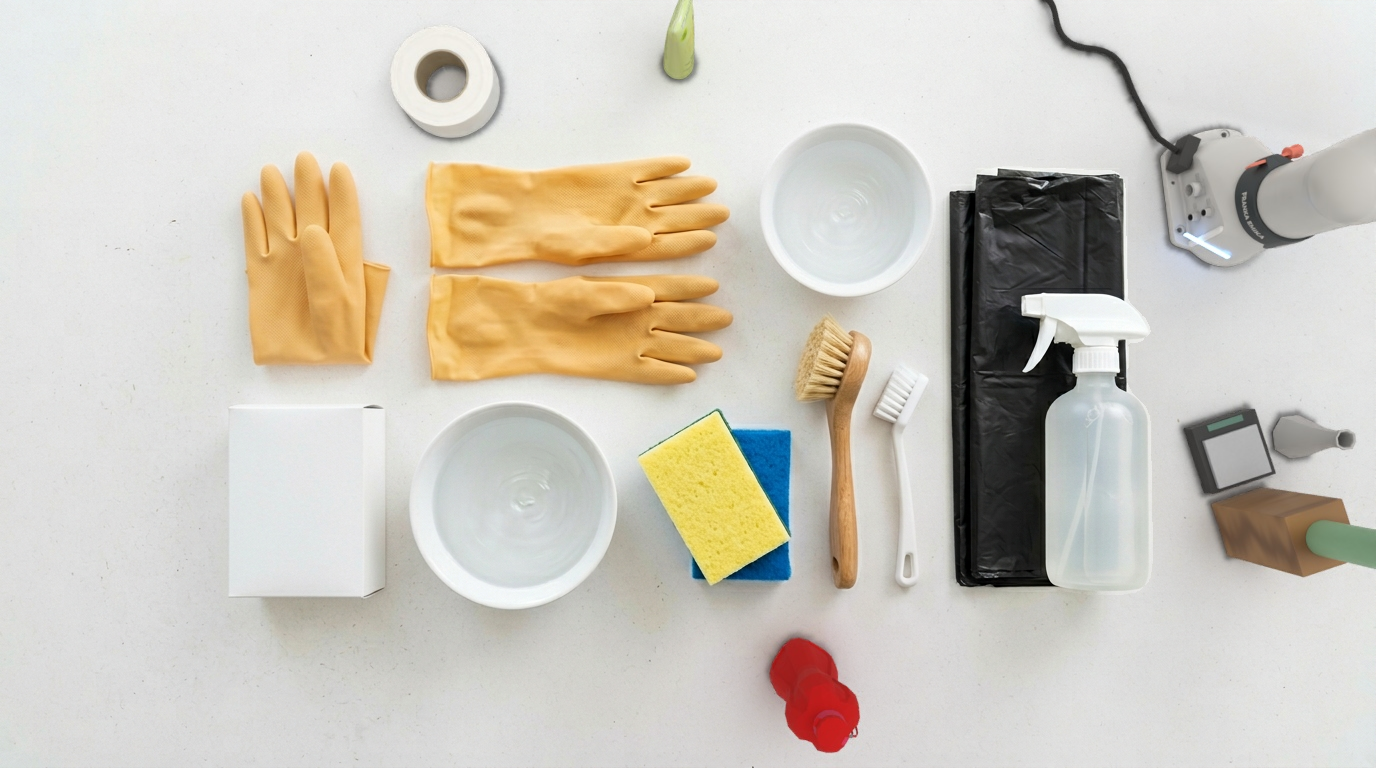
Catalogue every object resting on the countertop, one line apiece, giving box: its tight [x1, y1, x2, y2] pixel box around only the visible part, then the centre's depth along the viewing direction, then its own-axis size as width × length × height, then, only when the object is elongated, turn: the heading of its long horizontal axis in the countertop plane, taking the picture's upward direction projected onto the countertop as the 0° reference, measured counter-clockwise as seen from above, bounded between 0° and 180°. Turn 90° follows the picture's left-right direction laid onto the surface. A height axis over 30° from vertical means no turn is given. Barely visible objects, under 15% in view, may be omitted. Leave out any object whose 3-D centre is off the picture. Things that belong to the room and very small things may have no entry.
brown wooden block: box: [1210, 486, 1351, 578], centre depth 118 cm, size 9×9×15 cm
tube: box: [662, 0, 695, 80], centre depth 115 cm, size 6×5×20 cm
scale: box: [1183, 408, 1277, 495], centre depth 124 cm, size 11×11×3 cm
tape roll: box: [389, 24, 501, 139], centre depth 121 cm, size 16×16×6 cm
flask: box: [1272, 414, 1357, 459], centre depth 121 cm, size 7×7×10 cm
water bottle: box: [769, 637, 861, 754], centre depth 111 cm, size 9×11×25 cm
